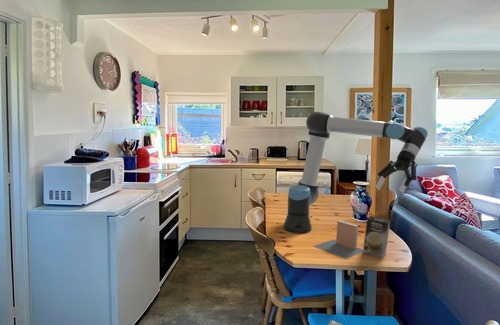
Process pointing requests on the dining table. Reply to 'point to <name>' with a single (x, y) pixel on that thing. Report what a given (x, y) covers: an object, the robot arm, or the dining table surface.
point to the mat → (338, 249)
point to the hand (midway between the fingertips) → (388, 189)
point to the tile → (347, 234)
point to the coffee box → (376, 236)
